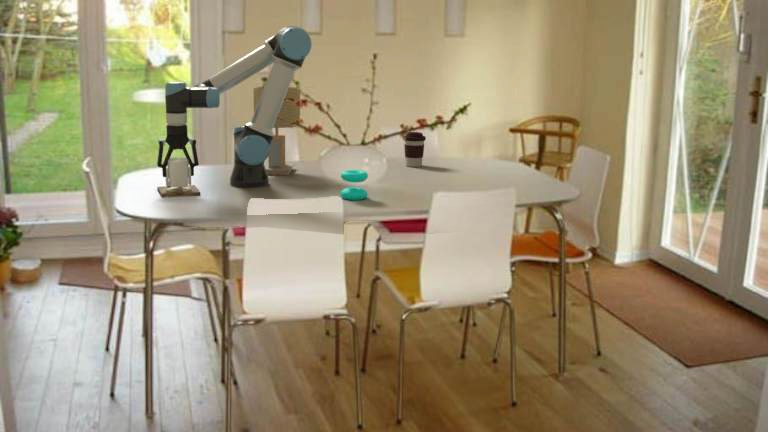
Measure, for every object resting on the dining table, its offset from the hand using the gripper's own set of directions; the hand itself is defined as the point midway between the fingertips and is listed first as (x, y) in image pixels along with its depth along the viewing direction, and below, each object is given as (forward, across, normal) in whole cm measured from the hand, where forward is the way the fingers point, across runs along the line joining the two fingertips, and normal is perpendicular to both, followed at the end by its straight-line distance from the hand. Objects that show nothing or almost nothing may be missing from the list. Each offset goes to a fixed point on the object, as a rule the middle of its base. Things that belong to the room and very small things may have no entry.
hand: (178, 184), depth 338 cm
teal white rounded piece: (+3, -61, +25) cm, 66 cm away
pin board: (+3, 0, 0) cm, 3 cm away
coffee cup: (+3, -109, -34) cm, 114 cm away
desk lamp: (+3, -46, -34) cm, 57 cm away
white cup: (0, 0, 0) cm, 0 cm away
